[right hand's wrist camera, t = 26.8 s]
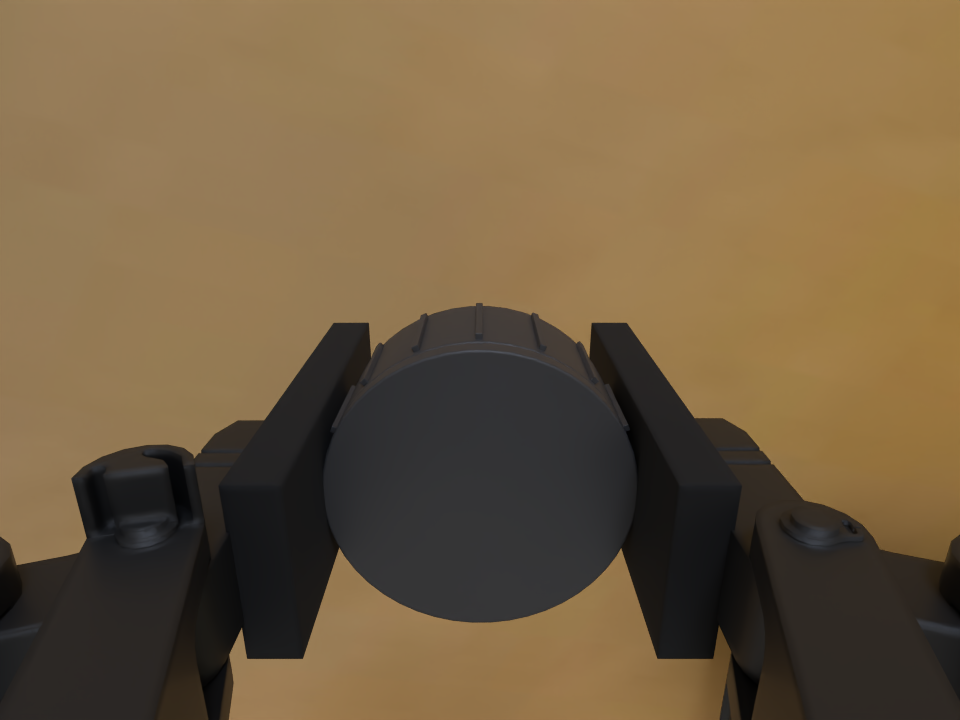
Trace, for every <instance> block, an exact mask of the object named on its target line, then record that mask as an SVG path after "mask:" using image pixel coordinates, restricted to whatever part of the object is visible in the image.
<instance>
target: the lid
mask: <svg viewBox="0 0 960 720" xmlns="http://www.w3.org/2000/svg"><path fill="white" fill-rule="evenodd" d="M629 430H630V428H629V425H628V423H627V421H626V419H625V417H624V415H623V413H622V411H621V408H620V406H619V404H618V402H617V400H616V398H615V396H614V394H613V392H612V390H611V387H610V385H609V384H605V385H604V383H603V381H602V379H601V377H600V375H599V373H598V371H597V370H596V368H595V366H594V364H593V363H592V361H591V360H590V359H589V357H588V355H587V353H586V350H585V348H584V346H583V344H582V343H581V342H580V341H579V342H578V343H577V344H576V343H575V342H574V341H573V340H572V339H571V338H570V337H568V336H567V335H566V334H564V333H563V332H562V331H560V330H559V329H557V328H556V327H554V326H552V325H550V324H549V323H547V322H545V321H543V320H541V319H539V316H538V314H535V313H532V315H529V314H526V313H523V312H519V311H515V310H511V309H507V308H500V307H491V306H483V304H482V303H476V306H469V307H461V308H454V309H449V310H445V311H442V312H438V313H434V314H432V315H429V316H428V315H427V313H425V314H423V315H421V317H420V320H417V321H416V322H414V323H412V324H410V325H409V326H407V327H405V328H403V329H402V330H401V331H399V332H398V333H397V334H395V335H394V336H393V337H391V338H390V339H389V340H388V341H387V342H386V343H385V344H384V345H383V344H382V343H379V344H378V345H377V346H376V349H375V351H374V353H373V355H372V357H371V359H370V362H369V363H368V364H367V366H366V368H365V369H364V371H363V373H362V375H361V377H360V379H359V381H358V383H357V385H356V386H354V385H352V386H351V388H350V390H349V392H348V394H347V396H346V398H345V400H344V402H343V404H342V406H341V408H340V410H339V412H338V415H337V417H336V419H335V421H334V423H333V425H332V427H331V430H330V432H332V433H334V434H333V436H332V439H331V442H330V445H329V447H328V450H327V453H326V458H325V463H324V468H323V488H324V498H325V508H326V516H327V520H328V524H329V527H330V529H331V531H332V534H333V536H334V538H335V541H336V543H337V544H338V546H339V548H340V549H341V551H342V553H343V554H344V556H345V557H346V559H347V560H348V561H349V562H350V564H351V565H352V566H353V567H354V569H355V570H356V571H357V572H358V573H359V574H360V575H361V576H362V577H363V578H364V579H365V580H366V581H367V582H368V583H370V584H371V585H372V586H374V587H375V588H376V589H378V590H379V591H380V592H382V593H383V594H384V595H386V596H388V597H389V598H391V599H393V600H395V601H396V602H398V603H400V604H402V605H404V606H406V607H409V608H411V609H413V610H415V611H418V612H421V613H424V614H427V615H431V616H434V617H438V618H443V619H448V620H453V621H462V622H499V621H508V620H514V619H518V618H523V617H527V616H531V615H534V614H537V613H540V612H543V611H546V610H548V609H550V608H552V607H555V606H557V605H559V604H561V603H563V602H565V601H567V600H568V599H570V598H572V597H573V596H575V595H577V594H578V593H580V592H581V591H582V590H583V589H585V588H586V587H587V586H589V585H590V584H591V583H592V582H594V581H595V580H596V579H597V578H598V577H599V576H600V575H601V574H602V573H603V572H604V571H605V570H606V568H607V567H608V566H609V565H610V563H611V562H612V561H613V559H614V558H615V557H616V556H617V554H618V552H619V551H620V549H621V547H622V545H623V544H624V542H625V540H626V538H627V535H628V533H629V531H630V528H631V526H632V523H633V519H634V514H635V505H636V495H637V484H638V470H637V465H636V460H635V456H634V451H633V449H632V446H631V444H630V441H629V438H628V436H627V433H626V431H629Z"/></svg>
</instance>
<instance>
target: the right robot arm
mask: <svg viewBox="0 0 960 720" xmlns="http://www.w3.org/2000/svg"><path fill="white" fill-rule="evenodd" d="M370 359H371V350H370V335H369V323H333V325H332V326H331V328H330V329H329V330H328V332H327V333H326V335H325V336H324V337H323V339H322V340H321V342H320V343H319V344H318V346H317V347H316V349H315V350H314V352H313V353H312V354H311V356H310V357H309V359H308V360H307V361H306V363H305V364H304V366H303V367H302V368H301V370H300V371H299V373H298V374H297V375H296V377H295V378H294V380H293V381H292V382H291V384H290V385H289V387H288V388H287V390H286V391H285V392H284V394H283V395H282V397H281V398H280V399H279V401H278V402H277V404H276V405H275V406H274V408H273V409H272V411H271V412H270V413H269V415H268V416H267V418H266V419H265V420H264V421H236V422H235V423H233V424H231V425H230V426H228V427H226V428H224V429H223V430H221V431H219V432H218V433H216V434H215V435H214V436H213V437H212V438H211V439H210V440H209V442H208V443H207V444H206V445H205V446H204V448H203V449H202V450H201V453H199V454H198V455H197V456H196V457H195V458H194V457H193V454H191V453H190V452H188V451H187V450H186V449H184V448H181V447H176V446H171V445H145V446H140V447H134V448H129V449H124V450H121V451H118V452H115V453H112V454H109V455H106V456H103V457H101V458H99V459H97V460H95V461H93V462H92V463H90V464H88V465H86V466H84V467H83V468H82V469H81V470H80V471H79V472H78V473H76V474H75V475H74V476H73V477H72V478H71V479H72V483H73V487H74V491H75V495H76V498H77V502H78V506H79V510H80V514H81V518H82V522H83V525H84V529H85V533H86V537H87V539H86V541H85V543H84V545H83V547H82V549H81V551H80V552H79V553H76V554H72V555H68V556H63V557H58V558H53V559H47V560H42V561H37V562H32V563H27V564H21V565H16V562H15V558H14V555H13V552H12V549H11V546H10V544H9V543H8V542H7V541H5V540H4V539H3V538H1V537H0V720H229V713H230V706H231V698H232V691H233V675H232V668H231V663H230V657H229V654H230V652H231V649H232V647H233V645H234V643H235V641H236V639H237V637H238V634H239V632H240V630H241V628H242V630H243V636H244V642H245V648H246V654H247V659H303V657H304V654H305V651H306V648H307V645H308V641H309V638H310V635H311V632H312V629H313V626H314V623H315V620H316V617H317V614H318V611H319V608H320V605H321V602H322V599H323V596H324V593H325V589H326V586H327V583H328V580H329V577H330V574H331V571H332V568H333V565H334V562H335V559H336V556H337V553H338V550H339V546H338V544H337V543H336V541H335V538H334V536H333V534H332V531H331V529H330V527H329V524H328V520H327V516H326V508H325V498H324V488H323V468H324V463H325V458H326V453H327V450H328V447H329V445H330V442H331V439H332V436H333V434H334V433H332V432H330V430H331V427H332V425H333V423H334V421H335V419H336V417H337V415H338V412H339V410H340V408H341V406H342V404H343V402H344V400H345V398H346V396H347V394H348V392H349V390H350V388H351V386H352V385H354V386H356V385H357V383H358V381H359V379H360V377H361V375H362V373H363V371H364V369H365V368H366V366H367V364H368V363H369V362H370ZM589 359H590V360H591V361H592V363H593V364H594V366H595V368H596V370H597V371H598V373H599V375H600V377H601V379H602V381H603V383H604V385H605V384H609V385H610V387H611V390H612V392H613V394H614V396H615V398H616V400H617V402H618V404H619V406H620V408H621V411H622V413H623V415H624V417H625V419H626V421H627V423H628V425H629V428H630V430H629V431H626V433H627V436H628V438H629V441H630V444H631V446H632V449H633V451H634V456H635V460H636V465H637V470H638V484H637V495H636V505H635V514H634V519H633V523H632V526H631V528H630V531H629V533H628V535H627V538H626V540H625V542H624V544H623V545H622V547H621V548H622V552H623V555H624V558H625V561H626V564H627V567H628V570H629V573H630V576H631V579H632V582H633V585H634V588H635V591H636V594H637V597H638V600H639V603H640V607H641V610H642V613H643V616H644V619H645V622H646V625H647V628H648V631H649V634H650V637H651V640H652V643H653V646H654V649H655V652H656V655H657V659H713V657H714V651H715V645H716V639H717V633H718V627H719V626H720V628H721V630H722V632H723V634H724V637H725V639H726V641H727V643H728V645H729V647H730V649H731V651H732V652H731V657H730V663H729V668H728V674H727V679H726V685H725V691H724V696H723V702H722V707H721V713H720V720H729V718H730V714H731V720H960V535H959V536H958V537H956V538H955V539H954V540H952V541H951V544H950V547H949V551H948V554H947V557H946V560H945V563H944V562H939V561H934V560H929V559H923V558H918V557H913V556H908V555H902V554H897V553H892V552H888V551H884V550H880V549H879V547H878V546H877V544H876V542H875V540H874V538H873V537H872V536H871V534H870V533H869V532H868V531H867V530H866V528H865V527H864V526H863V525H862V524H860V523H859V522H857V521H856V520H854V519H853V518H851V517H850V516H848V515H846V514H845V513H842V512H840V511H837V510H835V509H832V508H830V507H828V506H825V505H822V504H817V503H812V502H808V501H804V500H803V499H802V498H801V497H800V495H799V494H798V493H797V492H796V491H795V489H794V488H793V487H792V486H791V485H790V483H789V482H788V481H787V480H786V479H785V478H784V476H783V475H782V474H781V473H780V472H779V470H778V469H777V468H776V467H775V466H774V465H771V461H770V460H769V459H768V457H767V456H766V455H765V454H764V453H763V451H760V450H759V447H758V446H757V444H756V443H755V442H754V441H753V440H752V438H751V437H750V436H749V435H748V434H747V433H746V432H745V431H743V430H742V429H740V428H738V427H737V426H735V425H733V424H731V423H730V422H728V421H726V420H725V419H723V418H694V417H693V416H692V414H691V413H690V411H689V410H688V409H687V407H686V406H685V404H684V403H683V402H682V400H681V399H680V397H679V396H678V395H677V393H676V392H675V390H674V389H673V387H672V386H671V385H670V383H669V382H668V380H667V379H666V378H665V376H664V375H663V373H662V372H661V371H660V369H659V368H658V366H657V365H656V364H655V362H654V361H653V359H652V358H651V357H650V355H649V354H648V352H647V351H646V349H645V348H644V347H643V345H642V344H641V342H640V341H639V340H638V338H637V337H636V335H635V334H634V333H633V331H632V330H631V328H630V327H629V326H628V324H627V323H592V326H591V341H590V357H589Z"/></svg>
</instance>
